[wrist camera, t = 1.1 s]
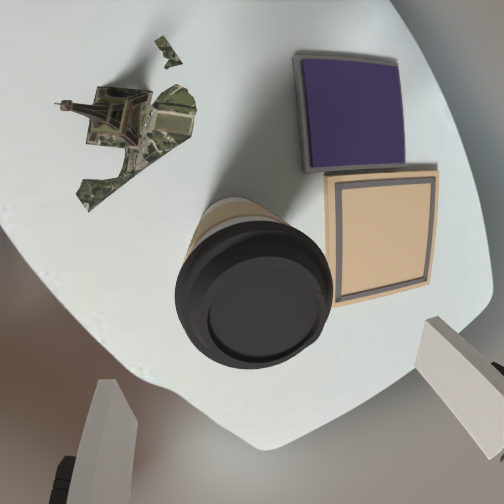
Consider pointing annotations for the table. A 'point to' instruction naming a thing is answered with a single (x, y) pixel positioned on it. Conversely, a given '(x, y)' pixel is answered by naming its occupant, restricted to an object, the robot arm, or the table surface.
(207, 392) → the table surface
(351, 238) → the square wooden board
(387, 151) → the ink pad
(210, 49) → the table surface
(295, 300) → the coffee cup
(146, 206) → the table surface
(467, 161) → the table surface
